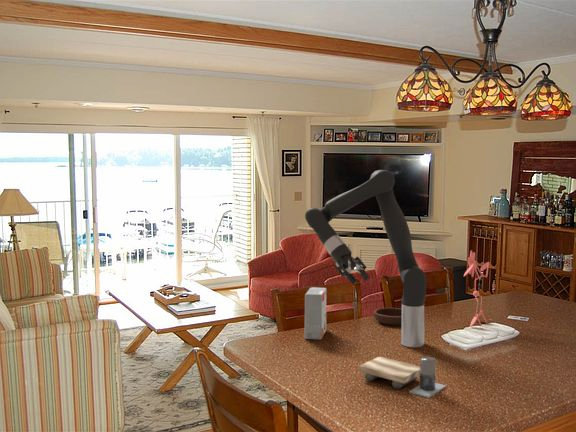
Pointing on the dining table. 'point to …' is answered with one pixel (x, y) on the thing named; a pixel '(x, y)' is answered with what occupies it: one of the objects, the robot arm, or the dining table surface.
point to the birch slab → (390, 371)
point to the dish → (389, 316)
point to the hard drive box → (315, 313)
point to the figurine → (471, 269)
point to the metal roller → (427, 373)
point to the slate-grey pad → (427, 393)
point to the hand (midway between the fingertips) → (361, 281)
